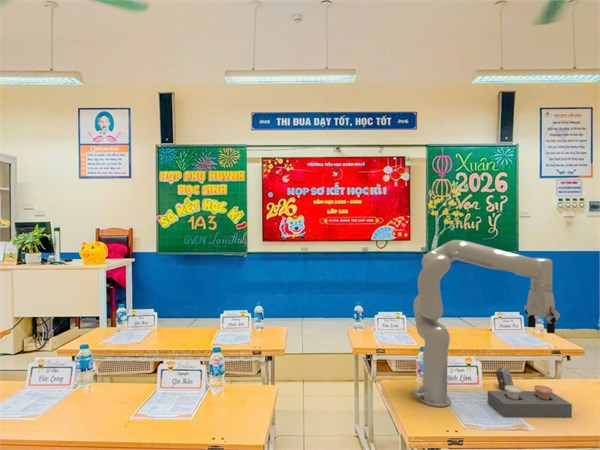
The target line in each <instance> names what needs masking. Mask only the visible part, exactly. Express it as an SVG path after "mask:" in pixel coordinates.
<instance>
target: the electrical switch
mask: <svg viewBox="0 0 600 450" xmlns="http://www.w3.org/2000/svg"><path fill="white" fill-rule="evenodd" d="M495 375H496V379H497V382H498V383H497V384H498V386H499V391H506V390H505V386H506V385H513V386H515V385H514V382H513V378H512V376H511V375H512V374H511V371H510V367H509V366H508V365H507V364H505V365H504V367H498V368H497V370H496V371H495Z"/></svg>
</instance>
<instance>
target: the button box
mask: <svg viewBox="0 0 600 450" xmlns="http://www.w3.org/2000/svg"><path fill="white" fill-rule="evenodd" d="M487 404H488V405H489V406H490V407H491V406H492V408H493V409H494V411H496V412H497V411H498V412H499V413H498V412H497V413H498V414H500V415H501V416H502V417H503V418H552V419H553V418H556V419H557V418H559V419H560V418H562V419H563V418H566V419H567V418H571V419H572V417H573V416H572V415H573V414H572V411H573V410H572V409H573V408H572V407H573V404H572V403H571V402H569V401H567V400H566V399H564V398H562V397H560V396H559V395H557V394H555V393H554V392H552V394H549V400H540V399H539V398H537V391H535V390H533V391H532V390H527V391H526V390H522V393H521V394H519V400H510V399H509V398H507V391H506V390H487Z"/></svg>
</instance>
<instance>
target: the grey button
mask: <svg viewBox="0 0 600 450" xmlns="http://www.w3.org/2000/svg"><path fill="white" fill-rule="evenodd" d="M513 385H514V384H513ZM513 385H506V386H505V390H504V391H507V398H509V399H510V400H519V394H521V393H522V391H523V388H521V386H520V387H519V386H516V385H514V386H513Z"/></svg>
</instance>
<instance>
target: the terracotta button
mask: <svg viewBox="0 0 600 450" xmlns="http://www.w3.org/2000/svg"><path fill="white" fill-rule="evenodd" d="M534 391H537V398H539V399H540V400H549V394H552V393H553V388H550V387H549V386H545V385H535V386H534Z"/></svg>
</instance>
